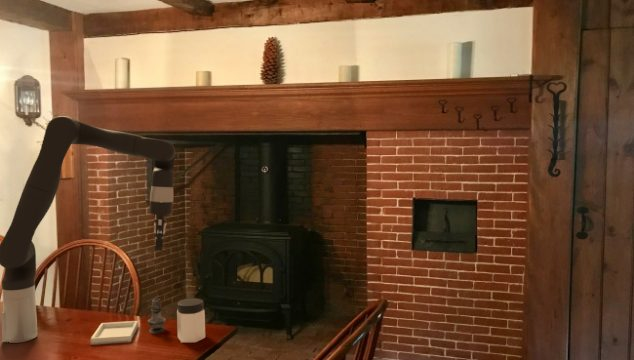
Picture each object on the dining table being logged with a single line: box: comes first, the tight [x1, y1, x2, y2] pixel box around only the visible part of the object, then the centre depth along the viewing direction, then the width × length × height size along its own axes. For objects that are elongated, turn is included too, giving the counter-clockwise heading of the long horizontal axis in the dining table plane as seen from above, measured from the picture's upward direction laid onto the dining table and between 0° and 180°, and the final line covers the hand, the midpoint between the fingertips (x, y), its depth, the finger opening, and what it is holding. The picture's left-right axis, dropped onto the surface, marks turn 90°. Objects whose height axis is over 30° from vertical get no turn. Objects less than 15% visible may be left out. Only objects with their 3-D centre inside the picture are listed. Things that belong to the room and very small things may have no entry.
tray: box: [90, 320, 139, 346], centre depth 173 cm, size 12×14×2 cm
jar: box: [176, 298, 206, 343], centre depth 170 cm, size 9×8×12 cm
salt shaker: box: [147, 295, 167, 334], centre depth 177 cm, size 6×6×12 cm
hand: (159, 248), depth 176 cm, fingers open, 8 cm apart
